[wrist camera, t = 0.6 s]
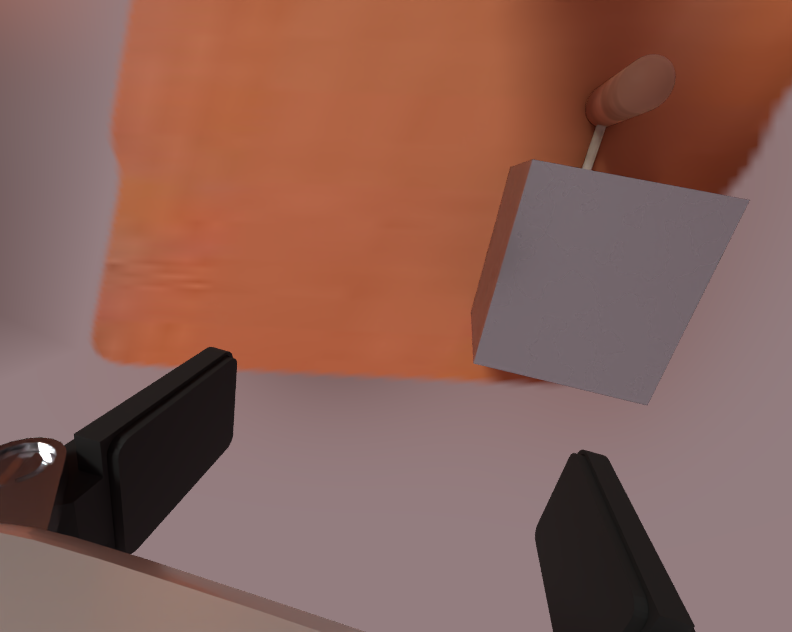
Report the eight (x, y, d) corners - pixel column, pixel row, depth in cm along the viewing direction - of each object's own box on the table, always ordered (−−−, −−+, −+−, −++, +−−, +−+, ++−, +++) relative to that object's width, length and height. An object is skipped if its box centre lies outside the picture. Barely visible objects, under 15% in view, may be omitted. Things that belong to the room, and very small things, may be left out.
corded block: (573, 77, 29) (605, 46, 22) (655, 90, 28) (711, 62, 22) (506, 297, 35) (515, 323, 29) (571, 311, 35) (596, 342, 28)
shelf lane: (510, 166, 32) (532, 159, 21) (654, 194, 30) (749, 200, 20) (470, 312, 36) (473, 363, 26) (594, 340, 35) (647, 405, 25)
